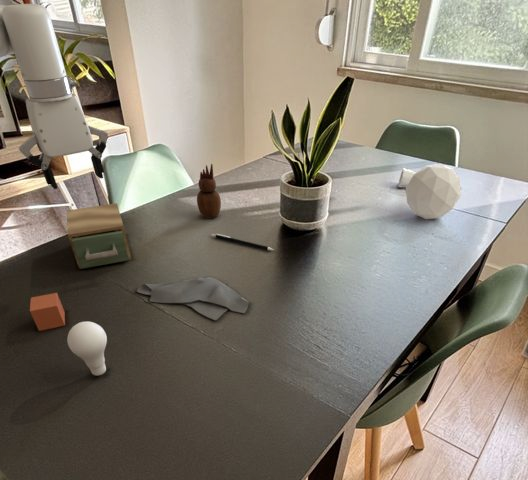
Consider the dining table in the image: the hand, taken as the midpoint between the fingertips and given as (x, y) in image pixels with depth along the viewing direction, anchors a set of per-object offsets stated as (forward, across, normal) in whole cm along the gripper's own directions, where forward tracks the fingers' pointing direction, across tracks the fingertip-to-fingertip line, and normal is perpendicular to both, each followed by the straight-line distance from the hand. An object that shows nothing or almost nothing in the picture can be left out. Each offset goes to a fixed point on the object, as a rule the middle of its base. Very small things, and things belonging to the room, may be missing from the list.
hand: (77, 181), depth 91 cm
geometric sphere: (+22, -87, +28) cm, 94 cm away
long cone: (+22, -105, +14) cm, 108 cm away
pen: (+21, -34, +10) cm, 41 cm away
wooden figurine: (+21, -36, -11) cm, 43 cm away
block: (+21, +16, +15) cm, 30 cm away
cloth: (+21, -13, +24) cm, 35 cm away
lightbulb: (+21, +14, +36) cm, 44 cm away
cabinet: (+21, -3, -8) cm, 23 cm away
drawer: (+20, -2, -4) cm, 20 cm away
